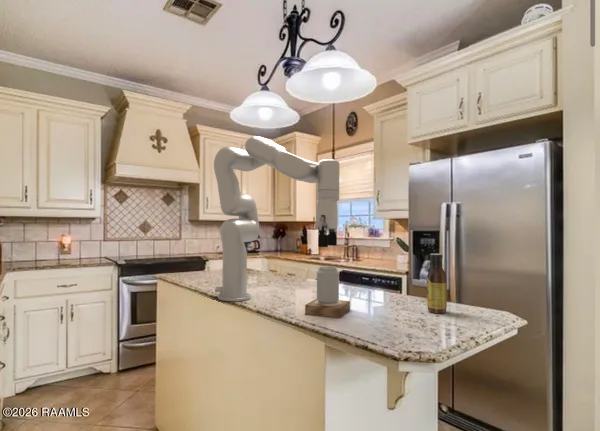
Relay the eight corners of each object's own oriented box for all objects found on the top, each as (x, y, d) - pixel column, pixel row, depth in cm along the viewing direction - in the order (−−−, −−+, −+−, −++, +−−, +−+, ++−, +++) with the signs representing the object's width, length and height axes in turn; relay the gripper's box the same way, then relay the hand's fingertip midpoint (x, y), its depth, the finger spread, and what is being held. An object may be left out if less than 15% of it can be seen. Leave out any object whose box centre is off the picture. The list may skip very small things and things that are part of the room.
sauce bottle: (432, 309, 130) (432, 252, 131) (449, 312, 126) (449, 253, 126) (423, 312, 126) (423, 253, 126) (441, 315, 121) (441, 254, 122)
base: (305, 314, 122) (305, 304, 122) (317, 306, 133) (317, 297, 133) (340, 317, 117) (340, 307, 117) (349, 309, 128) (349, 300, 128)
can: (337, 305, 121) (337, 268, 121) (314, 304, 122) (315, 267, 123) (339, 300, 128) (339, 266, 128) (318, 299, 130) (318, 265, 130)
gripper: (325, 198, 136) (325, 244, 135) (308, 194, 120) (308, 247, 119) (345, 197, 133) (345, 245, 132) (330, 193, 117) (330, 248, 116)
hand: (327, 246), depth 126 cm, fingers open, 9 cm apart
